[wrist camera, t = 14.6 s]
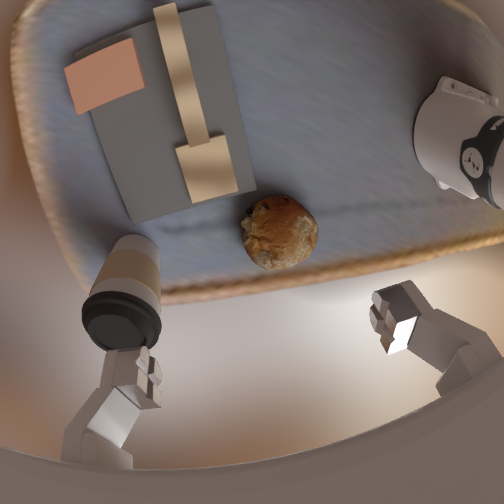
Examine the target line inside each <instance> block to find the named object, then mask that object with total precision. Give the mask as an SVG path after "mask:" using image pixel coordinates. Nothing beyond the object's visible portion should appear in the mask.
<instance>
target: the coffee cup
mask: <svg viewBox="0 0 504 504" xmlns="http://www.w3.org/2000/svg"><path fill="white" fill-rule="evenodd" d="M159 268H160V254H159V251H158V248H157V247H156V245H155V244H154V243H153V242H152V241H151V240H150V239H148V238H147V237H145V236H142V235H138V234H129V235H125V236H123V237H121V238H120V239H119V240H118V241H117V242H116V244H115V246H114V247H113V249H112V251H111V253H110V255H109V256H108V257H107V259H106V260H105V262H104V264H103V266H102V268H101V270H100V272H99V274H98V276H97V278H96V280H95V282H94V284H93V286H92V288H91V291H90V294H89V298H88V299H87V300H86V301H85V303H84V304H83V307H82V323H83V325H84V328H85V330H86V331H87V333H88V334H89V335H90V337H91V339H92V341H93V342H94V343H95V344H96V345H97V346H99V347H100V348H102V349H103V350H105V351H107V352H108V350H116V349H124V348H133V347H141V346H146V347H147V349H148V350H149V349H151V348H152V347H153V346H154V345H155V344H156V343H157V341H158V337H159V334H160V332H161V328H162V327H161V326H162V325H161V320H160V317H159V316H160V312H161V297H160V271H159Z"/></svg>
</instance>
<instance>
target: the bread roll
mask: <svg viewBox="0 0 504 504" xmlns="http://www.w3.org/2000/svg"><path fill="white" fill-rule="evenodd" d="M246 213H247V215H246V218H244V220H242V222H241V226H242V227H243V229H244V232H243V234H242V237H243V238H242V241H243V242H242V244H243V246H244V247H245V249H246V252H247V254H248V255H249V257H250V258H251V260H252V261H253V262H255V263H256V264H257V265H258V266H260V267H262V268H264V269H268V270H278V269H286V268H289V267H292V266H294V265H296V264H297V263H299V262H301V261H303V260H305V259H306V258H307V257H308V256H309V255H310V254H311V253H312V251H313V250H314V248H315V245H316V242H317V237H318V226H317V223H316V221H315V219H314V218H313V216H312V215H311V214H310V213H309V212H308V211H307V210H306V209H304V207H303V206H302V205H301V204H299V203H298V202H296V201H295V200H293V199H292V198H290V197H287V196H269V197H267V198H264V199H262V200H260V201H259V202H258V203H256V204H255V205H254V206H251V207H248V208H247V209H246ZM253 235H254V236H253Z"/></svg>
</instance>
